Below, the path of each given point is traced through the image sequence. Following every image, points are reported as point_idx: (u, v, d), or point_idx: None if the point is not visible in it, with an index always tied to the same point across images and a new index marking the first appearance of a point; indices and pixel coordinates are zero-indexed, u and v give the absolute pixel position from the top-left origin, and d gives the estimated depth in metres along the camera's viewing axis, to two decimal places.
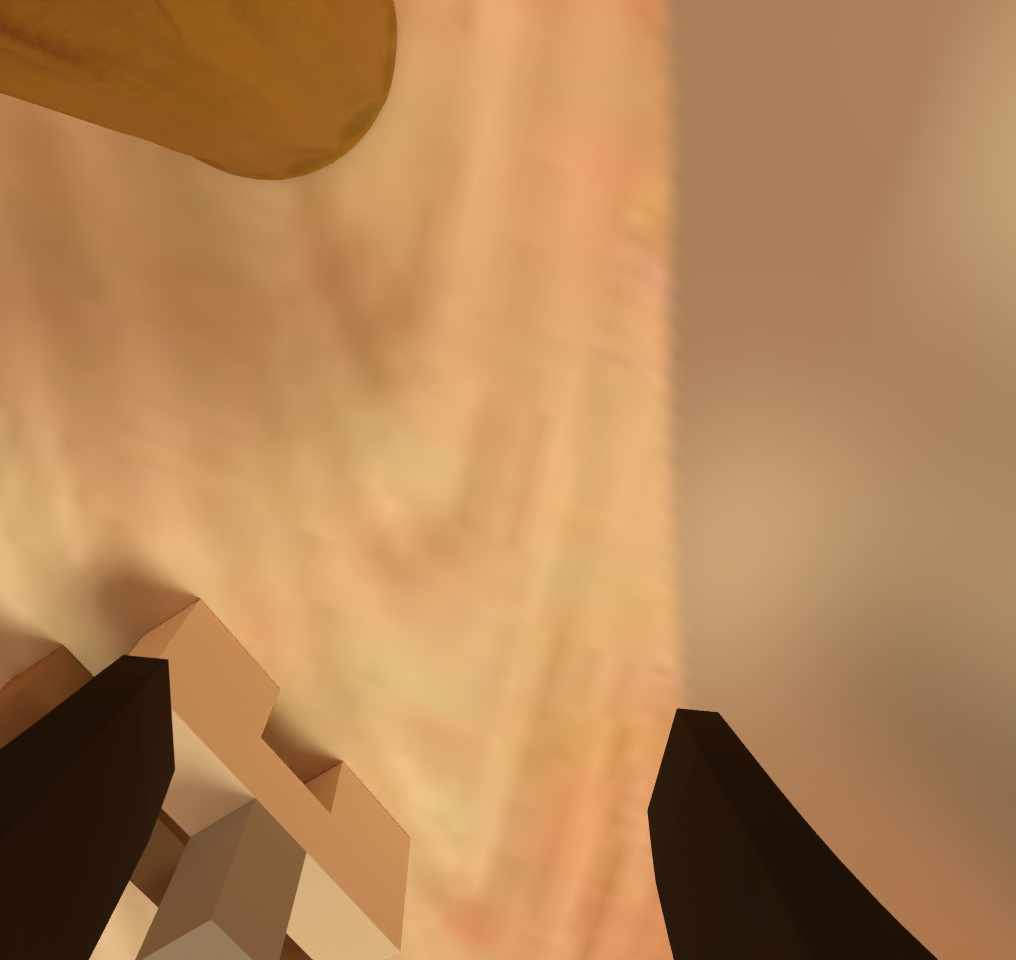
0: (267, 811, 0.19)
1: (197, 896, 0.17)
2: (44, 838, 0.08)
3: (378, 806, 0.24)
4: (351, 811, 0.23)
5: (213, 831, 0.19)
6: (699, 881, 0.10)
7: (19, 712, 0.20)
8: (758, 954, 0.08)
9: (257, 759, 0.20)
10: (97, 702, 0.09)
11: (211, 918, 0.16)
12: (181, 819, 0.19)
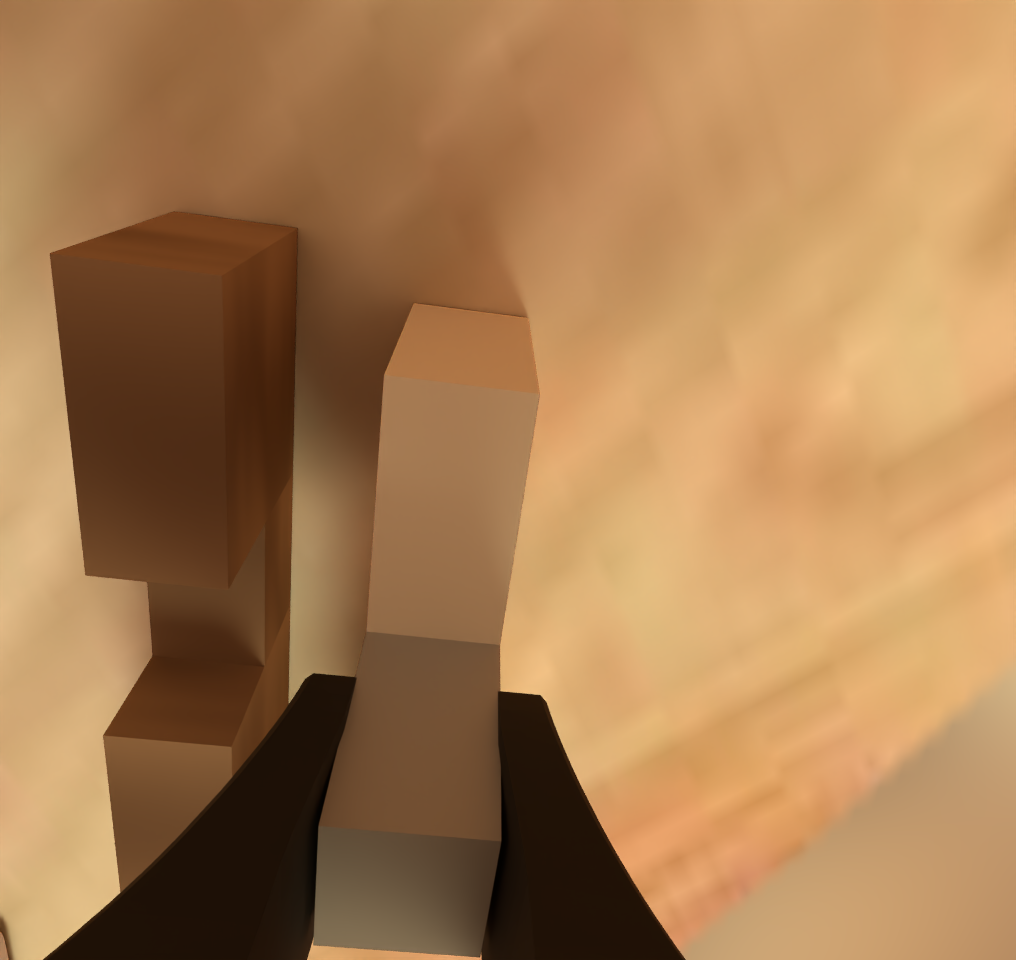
0: None
1: (439, 767, 0.10)
2: (296, 858, 0.08)
3: None
4: None
5: (421, 652, 0.11)
6: None
7: (252, 282, 0.11)
8: (516, 936, 0.08)
9: None
10: (313, 722, 0.10)
11: None
12: (377, 602, 0.12)
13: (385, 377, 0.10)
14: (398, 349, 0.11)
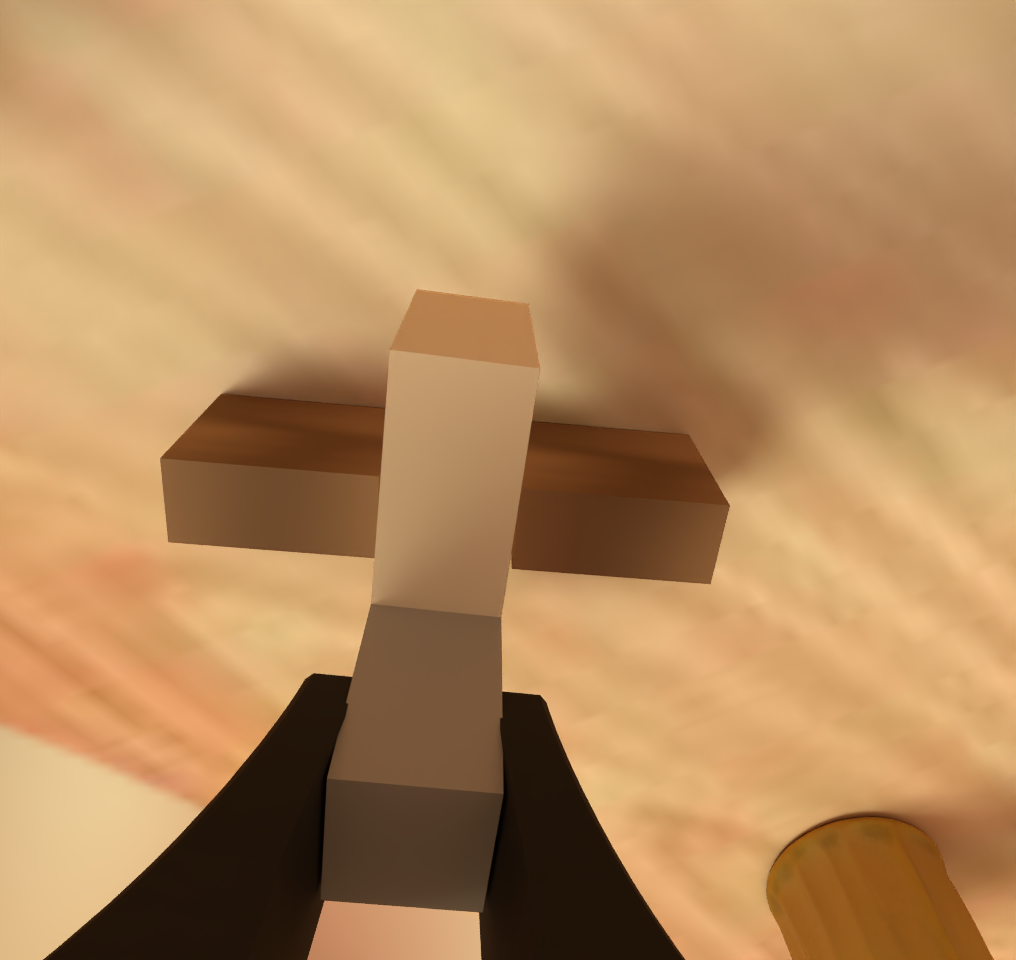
0: None
1: (443, 726, 0.10)
2: (296, 858, 0.08)
3: None
4: None
5: (425, 623, 0.12)
6: (494, 865, 0.10)
7: None
8: (515, 936, 0.08)
9: None
10: (313, 722, 0.10)
11: (503, 792, 0.09)
12: (382, 574, 0.12)
13: (390, 353, 0.11)
14: (403, 328, 0.12)
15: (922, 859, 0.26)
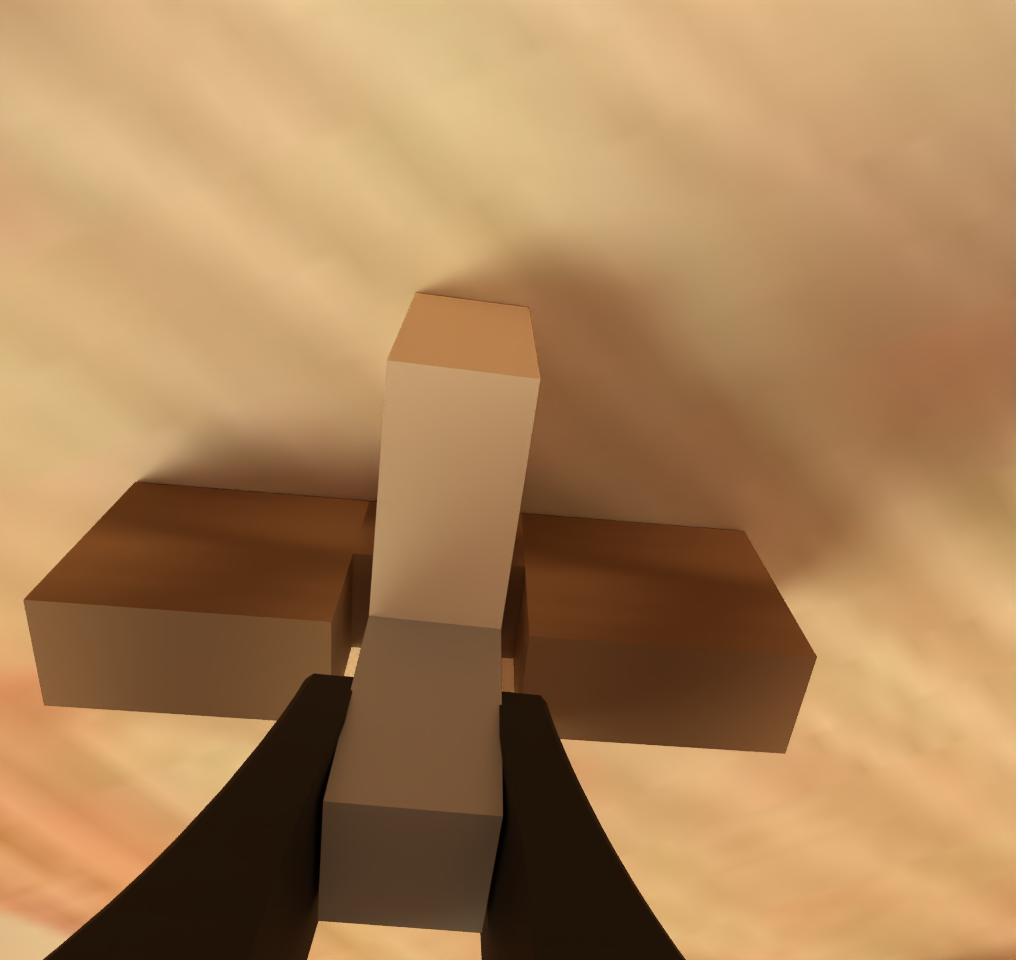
0: None
1: (441, 745, 0.10)
2: (296, 858, 0.08)
3: None
4: None
5: (423, 635, 0.12)
6: (494, 865, 0.10)
7: None
8: (515, 936, 0.08)
9: None
10: (313, 722, 0.10)
11: (502, 814, 0.09)
12: (379, 586, 0.12)
13: (388, 363, 0.10)
14: (400, 336, 0.11)
15: None
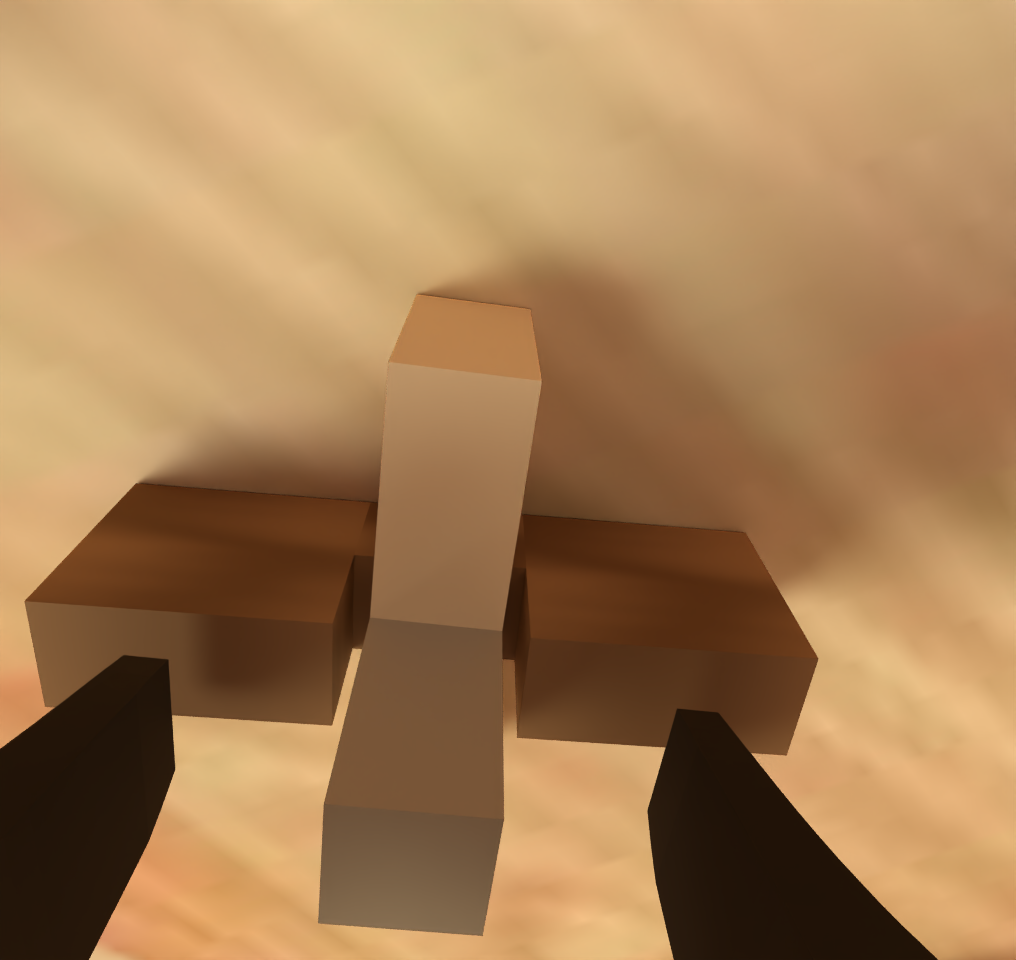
0: None
1: (442, 748, 0.10)
2: (44, 838, 0.08)
3: None
4: None
5: (424, 637, 0.12)
6: (699, 881, 0.10)
7: None
8: (758, 954, 0.08)
9: None
10: (97, 702, 0.09)
11: (503, 817, 0.09)
12: (380, 588, 0.12)
13: (389, 365, 0.10)
14: (402, 338, 0.11)
15: None
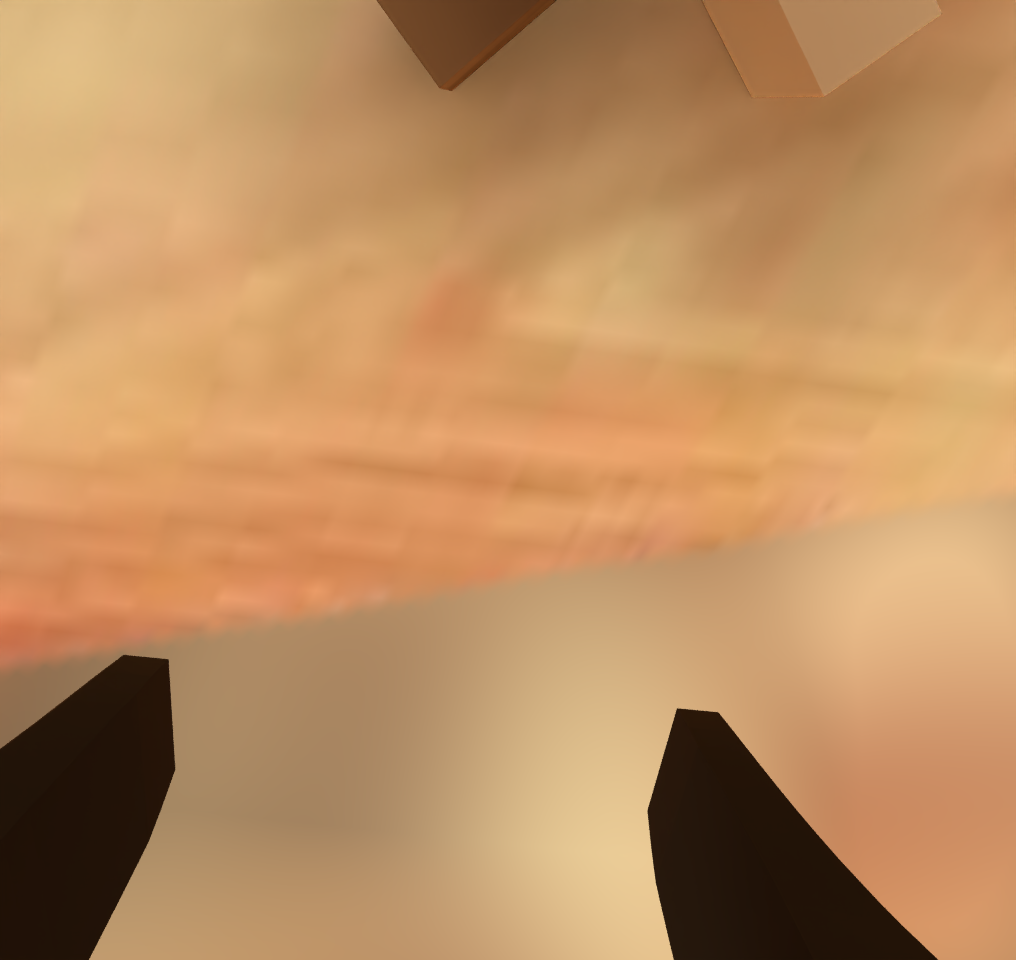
0: None
1: None
2: (44, 838, 0.08)
3: None
4: None
5: None
6: (699, 881, 0.10)
7: None
8: (758, 954, 0.08)
9: None
10: (97, 702, 0.09)
11: None
12: None
13: None
14: None
15: None
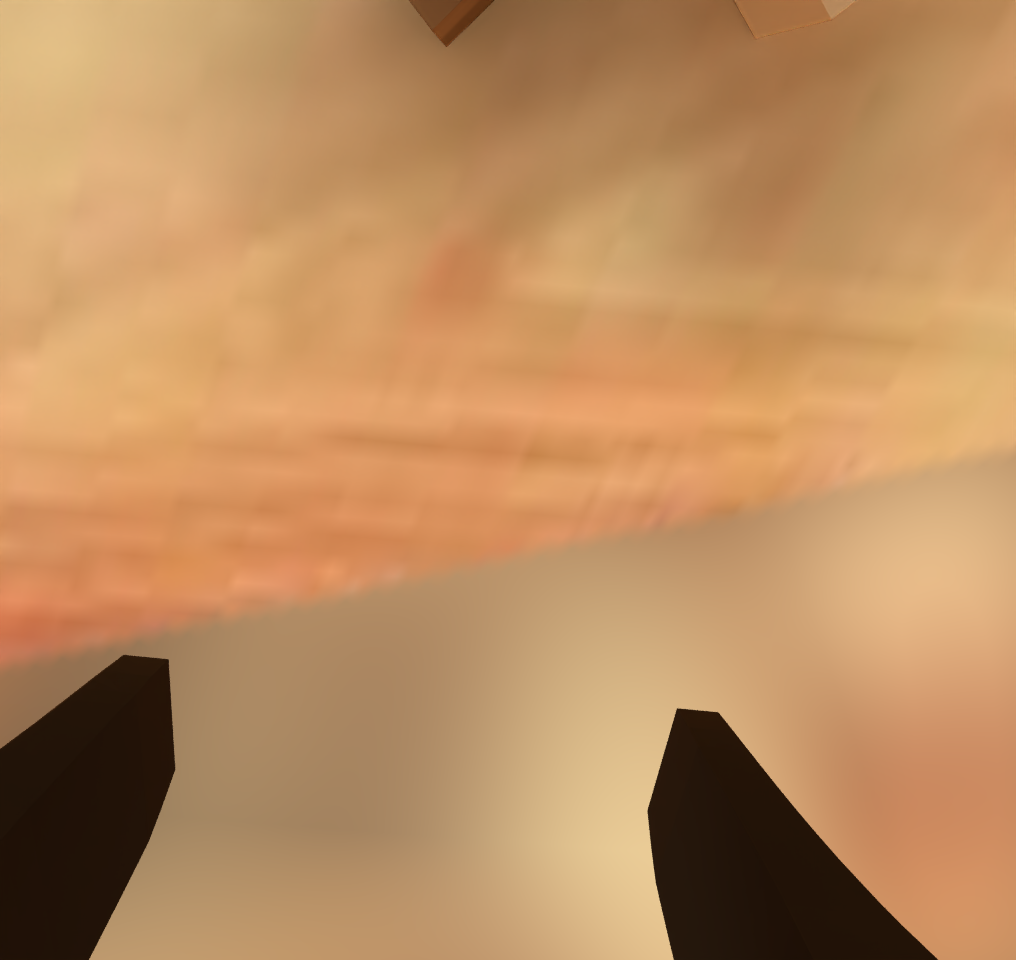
0: None
1: None
2: (44, 838, 0.08)
3: None
4: None
5: None
6: (698, 881, 0.10)
7: None
8: (758, 954, 0.08)
9: None
10: (97, 702, 0.09)
11: None
12: None
13: None
14: None
15: None
